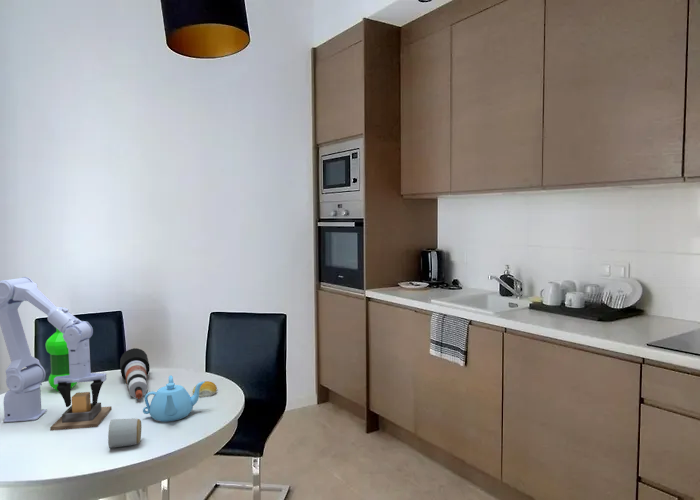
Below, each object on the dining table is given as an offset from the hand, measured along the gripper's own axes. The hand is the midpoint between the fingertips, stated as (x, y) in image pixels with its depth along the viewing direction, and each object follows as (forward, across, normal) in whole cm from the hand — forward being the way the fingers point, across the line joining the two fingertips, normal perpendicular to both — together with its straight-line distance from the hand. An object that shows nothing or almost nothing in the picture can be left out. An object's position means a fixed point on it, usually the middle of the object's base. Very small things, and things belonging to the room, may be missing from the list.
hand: (81, 404), depth 155 cm
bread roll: (+5, +35, +17) cm, 39 cm away
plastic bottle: (+5, -17, +32) cm, 37 cm away
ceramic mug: (+5, +18, -20) cm, 27 cm away
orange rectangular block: (+4, 0, 0) cm, 4 cm away
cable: (+5, +9, +28) cm, 30 cm away
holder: (+5, 0, 0) cm, 5 cm away
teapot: (+5, +28, -2) cm, 28 cm away
